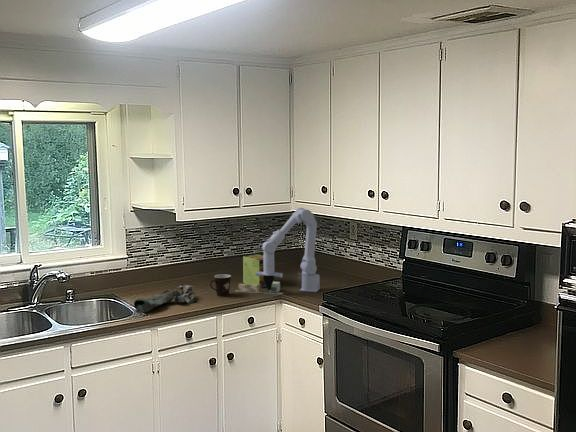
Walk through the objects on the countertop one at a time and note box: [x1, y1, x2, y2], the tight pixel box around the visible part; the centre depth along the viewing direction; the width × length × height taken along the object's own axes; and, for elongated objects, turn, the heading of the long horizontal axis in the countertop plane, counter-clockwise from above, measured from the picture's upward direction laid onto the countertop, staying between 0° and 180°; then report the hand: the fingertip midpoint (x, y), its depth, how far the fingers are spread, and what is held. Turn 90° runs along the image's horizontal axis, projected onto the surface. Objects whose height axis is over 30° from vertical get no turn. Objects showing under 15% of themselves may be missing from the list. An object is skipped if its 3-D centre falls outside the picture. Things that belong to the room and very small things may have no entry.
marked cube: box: [269, 281, 281, 293], centre depth 333 cm, size 4×5×4 cm
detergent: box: [133, 289, 174, 313], centre depth 304 cm, size 13×7×25 cm
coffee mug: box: [209, 273, 232, 297], centre depth 324 cm, size 12×9×10 cm
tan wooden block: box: [237, 283, 262, 294], centre depth 331 cm, size 12×3×4 cm, turn 75°
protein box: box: [242, 254, 275, 289], centre depth 348 cm, size 10×15×16 cm
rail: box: [234, 289, 284, 295], centre depth 330 cm, size 26×2×1 cm, turn 75°
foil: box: [173, 283, 197, 305], centre depth 314 cm, size 12×11×15 cm
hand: (269, 289), depth 328 cm, fingers closed
